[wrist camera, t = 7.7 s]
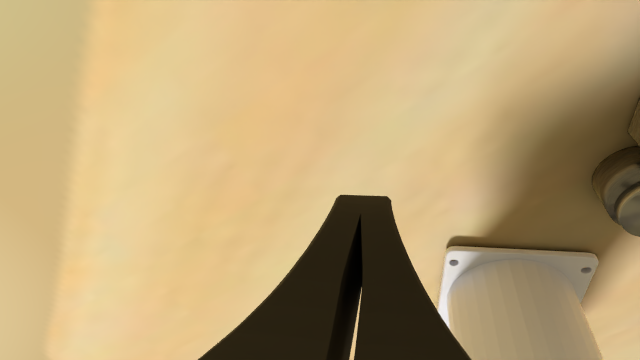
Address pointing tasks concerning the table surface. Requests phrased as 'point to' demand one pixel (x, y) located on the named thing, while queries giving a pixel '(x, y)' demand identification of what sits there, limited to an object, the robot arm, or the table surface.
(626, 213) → the bar
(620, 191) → the tongs base
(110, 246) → the table surface
